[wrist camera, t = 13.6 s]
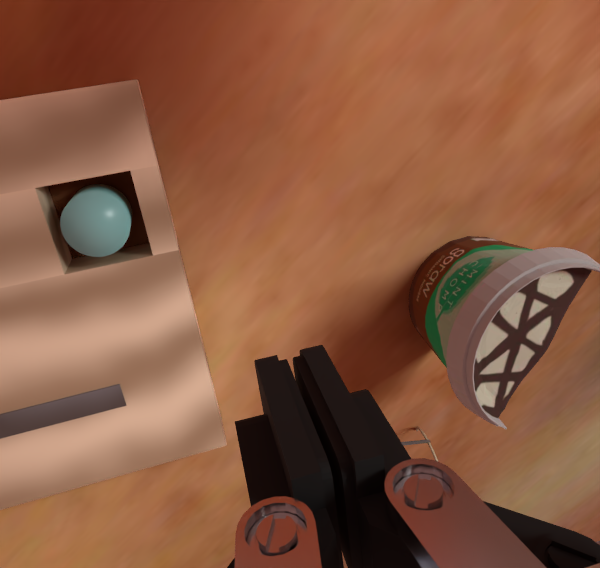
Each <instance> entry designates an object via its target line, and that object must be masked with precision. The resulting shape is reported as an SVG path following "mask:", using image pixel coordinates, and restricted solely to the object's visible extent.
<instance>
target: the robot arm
mask: <svg viewBox="0 0 600 568" xmlns="http://www.w3.org/2000/svg"><path fill="white" fill-rule="evenodd" d="M293 365H294V372H295V378H294V376H293V373H292V371H291V368H290V366H289V363H288V361H287V359H285V360H280V361H279V360H278V357H277V355H276V356H271V357H267V358H262V359H258V360H255V368H256V373H257V379H258V384H259V390H260V395H261V401H262V406H263V412H264V415H260V416H256V417H252V418H247V419H243V420H239V421H235V425H236V431H237V436H238V441H239V446H240V451H241V456H242V461H243V467H244V472H245V477H246V482H247V487H248V492H249V498H250V503H251V507H250V508H249V509H248V510H247V511H246V512H245V513H244V514H243V516H242V517H241V519H240V521H239V523H238V526H237V530H236V539H235V558H234V559H233V561H232V562H231V563H230V565H229V566H228V567H227V568H344V566H343V558H342V553H343V555H344V558H345V561H346V564H347V566H348V568H600V541H599V542H595V541H593V540H592V539H590V538H588V537H586V536H584V535H582V534H579V533H577V532H574V531H571V530H568V529H565V528H562V527H559V526H556V525H553V524H550V523H547V522H544V521H541V520H538V519H535V518H532V517H529V516H526V515H523V514H520V513H517V512H514V511H511V510H508V509H505V508H502V507H499V506H496V505H493V504H490V503H487V502H484V501H482V500H481V499H480V498H479V497H478V496H477V495H476V494H475V493H474V492H473V491H472V489H471V488H470V487H469V486H468V485H467V484H466V483H465V482H464V481H463V480H462V479H461V478H460V477H459V476H458V475H457V474H456V473H455V472H454V471H453V470H452V469H450V468H449V467H448V466H446V465H444V464H442V463H440V462H438V461H435V460H430V459H425V458H422V459H411V458H410V456H409V455H408V453H407V451H406V450H405V448H404V446H403V445H402V443H401V442H400V440H399V438H398V437H397V435H396V434H395V432H394V430H393V429H392V427H391V426H390V424H389V422H388V421H387V419H386V418H385V416H384V414H383V413H382V411H381V410H380V408H379V406H378V405H377V403H376V401H375V400H374V398H373V397H372V395H371V394H370V392H369V391H368V390H366V389H365V390H361V391H357V392H353V393H349V391H348V390H347V388H346V386H345V384H344V382H343V381H342V379H341V377H340V375H339V374H338V372H337V370H336V368H335V366H334V365H333V363H332V361H331V359H330V357H329V356H328V354H327V352H326V350H325V348H324V347H323V345H319V346H315V347H311V348H306V349H302V350H300V356H298V357H294V358H293ZM295 379H296V381H295Z"/></svg>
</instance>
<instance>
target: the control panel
mask: <svg viewBox="0 0 600 568" xmlns="http://www.w3.org/2000/svg"><path fill="white" fill-rule="evenodd" d="M125 171H131V175H132V179H133V183H134V186H135V190H136V194H137V198H138V201H139V205H140V209H141V212H142V216H143V220H144V224H145V227H146V231H147V235H148V239H149V242H150V243H146V244H141V245H137V246H132V247H127V248H122V249H119V250H118V251H117V252H115V253H113V254H111V255H108V256H103V257H91V256H84V257H79V258H74V259H72V257H71V254H70V251H69V248H68V245H67V242H66V240H65V238H64V237H63V234H62V231H61V226H60V221H59V218H58V215H57V212H56V209H55V206H54V203H53V200H52V197H51V194H50V191H49V188H48V186H49V185H54V184H60V183H65V182H71V181H76V180H82V179H87V178H92V177H98V176H103V175H109V174H114V173H120V172H125ZM226 445H227V443H226V438H225V433H224V428H223V423H222V419H221V415H220V411H219V406H218V402H217V398H216V394H215V390H214V386H213V382H212V378H211V374H210V370H209V366H208V362H207V358H206V354H205V350H204V346H203V341H202V337H201V333H200V329H199V325H198V321H197V317H196V313H195V309H194V305H193V301H192V297H191V293H190V289H189V285H188V281H187V276H186V272H185V268H184V264H183V260H182V256H181V252H180V248H179V244H178V240H177V236H176V232H175V228H174V224H173V220H172V216H171V211H170V207H169V203H168V199H167V195H166V191H165V187H164V183H163V179H162V175H161V171H160V167H159V163H158V159H157V155H156V150H155V146H154V142H153V138H152V134H151V130H150V126H149V122H148V118H147V114H146V110H145V106H144V102H143V98H142V94H141V90H140V85H139V81H138V80H137V79H135V80H129V81H122V82H116V83H109V84H103V85H96V86H90V87H83V88H77V89H70V90H63V91H57V92H50V93H44V94H37V95H31V96H24V97H18V98H11V99H5V100H0V510H2V509H6V508H9V507H13V506H16V505H20V504H23V503H27V502H30V501H34V500H37V499H41V498H44V497H48V496H51V495H55V494H58V493H62V492H65V491H69V490H72V489H76V488H79V487H83V486H86V485H90V484H93V483H97V482H100V481H104V480H107V479H111V478H114V477H118V476H121V475H125V474H128V473H132V472H135V471H139V470H142V469H146V468H149V467H153V466H156V465H160V464H163V463H167V462H170V461H174V460H177V459H181V458H184V457H188V456H191V455H195V454H198V453H202V452H205V451H209V450H212V449H216V448H219V447H223V446H226Z"/></svg>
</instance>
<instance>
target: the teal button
mask: <svg viewBox="0 0 600 568" xmlns="http://www.w3.org/2000/svg"><path fill="white" fill-rule="evenodd" d="M131 222H132V208H131V205H130V203H129V201H128V199H127V198H126V197H125V196H124V194H123V193H121V192H120V191H119V190H117V189H116V188H114V187H112V186H109V185H105V184H92V185H88V186H85V187H83V188H82V189H80V190H79V191H78V192H77V193H76V194H75V195H74V196H73V197H72V199H71V200H70V201H69V202H68V204H67V205H66V206H65V208H64V210H63V212H62V215H61V219H60V226H61V231H62V234H63V237H64V238H65V240H66V241H67V243H68V244H69V245H70V246H71V247H72V248H73V249H75V250H76V251H78V252H79V253H82V254H84V255H87V256H91V257H103V256H108V255H111V254H113V253H115V252H117V251H118V250H119V249H121V248H122V247H123V245H124V244H125V243H126V241H127V239H128V237H129V233H130V228H131Z"/></svg>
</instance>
